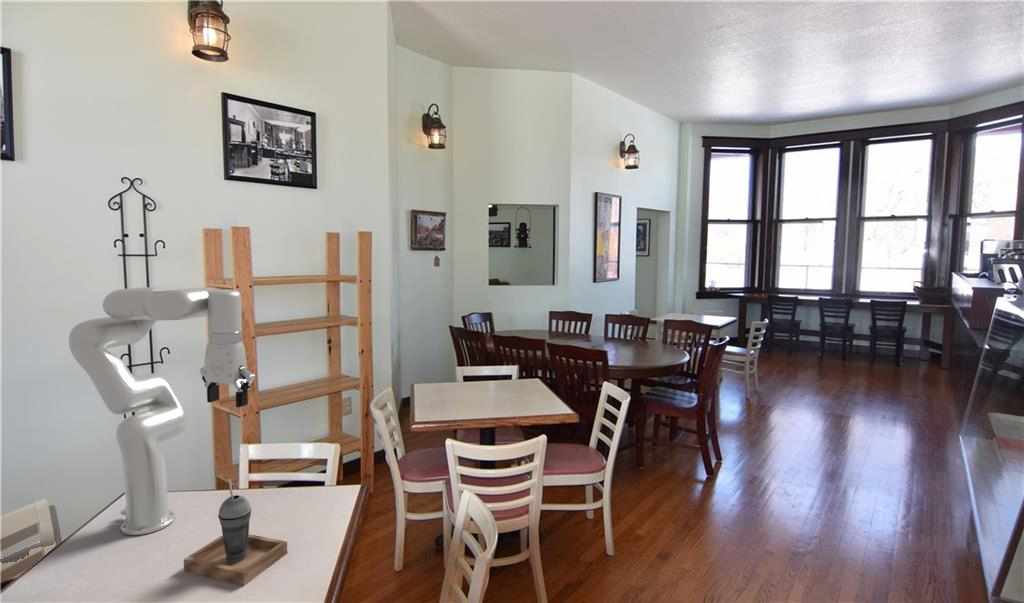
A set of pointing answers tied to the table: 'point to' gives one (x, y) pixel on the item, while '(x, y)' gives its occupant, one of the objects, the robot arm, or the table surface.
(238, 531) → the beverage cup
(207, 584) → the table surface
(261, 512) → the table surface
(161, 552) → the table surface
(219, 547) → the walnut tray
